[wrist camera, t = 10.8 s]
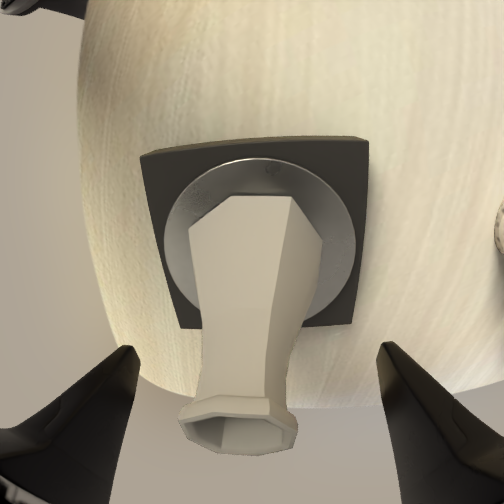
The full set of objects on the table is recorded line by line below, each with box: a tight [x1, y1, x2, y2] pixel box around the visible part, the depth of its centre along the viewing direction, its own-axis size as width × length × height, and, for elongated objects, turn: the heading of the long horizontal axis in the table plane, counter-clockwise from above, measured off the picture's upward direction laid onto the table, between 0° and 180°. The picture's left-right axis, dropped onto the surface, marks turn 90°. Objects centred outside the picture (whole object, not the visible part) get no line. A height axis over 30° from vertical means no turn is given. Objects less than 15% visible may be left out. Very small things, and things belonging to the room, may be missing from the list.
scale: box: [140, 136, 369, 329], centre depth 17 cm, size 12×12×3 cm
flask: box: [178, 196, 323, 456], centre depth 11 cm, size 7×7×10 cm
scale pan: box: [164, 157, 356, 320], centre depth 15 cm, size 11×11×1 cm
